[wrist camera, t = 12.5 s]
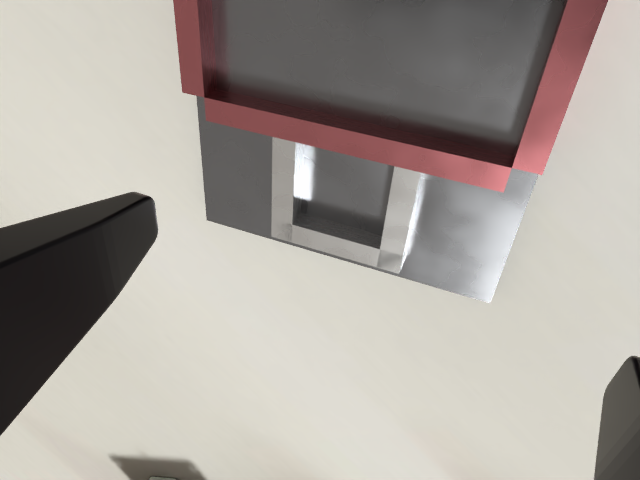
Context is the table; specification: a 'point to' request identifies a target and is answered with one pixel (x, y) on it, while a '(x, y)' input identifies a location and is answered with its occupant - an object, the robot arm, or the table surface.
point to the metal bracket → (160, 478)
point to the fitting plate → (382, 123)
